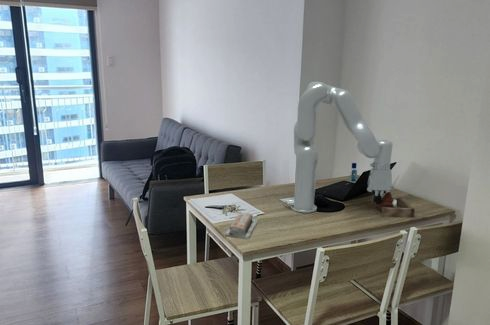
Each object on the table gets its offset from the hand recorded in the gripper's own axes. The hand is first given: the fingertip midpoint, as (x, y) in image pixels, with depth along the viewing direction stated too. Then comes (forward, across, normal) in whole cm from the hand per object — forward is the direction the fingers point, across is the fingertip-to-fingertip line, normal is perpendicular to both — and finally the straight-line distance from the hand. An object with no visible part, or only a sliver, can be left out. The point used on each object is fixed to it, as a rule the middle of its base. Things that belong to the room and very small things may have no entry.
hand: (377, 203), depth 195 cm
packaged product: (+4, -64, -28) cm, 71 cm away
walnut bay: (+4, +7, 0) cm, 8 cm away
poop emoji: (+4, +5, 0) cm, 6 cm away
